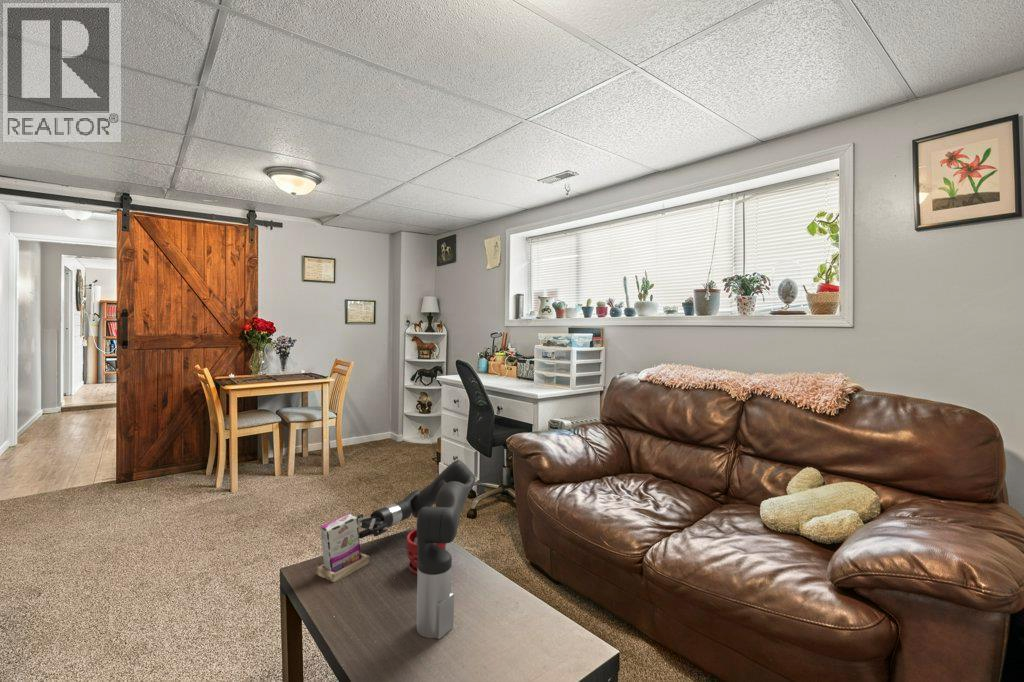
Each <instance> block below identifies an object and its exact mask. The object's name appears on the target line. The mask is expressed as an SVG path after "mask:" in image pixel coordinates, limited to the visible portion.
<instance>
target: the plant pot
mask: <svg viewBox="0 0 1024 682" xmlns="http://www.w3.org/2000/svg"><path fill="white" fill-rule="evenodd" d="M415 539H417V528H415V529H413V530H412V531H410V532H409V533H408V534H407V536H406V551H407V557H408V560H409V563H408V568H409V570H410V571H411V572H412V573H413V574H414V575H417V565H418V560H417V542H415ZM434 544H435V545H437V546H438V547H440V548H443V549H445V550H447V547H446V546H447V543H446V544H442V543H441V544H440V543H434Z"/></svg>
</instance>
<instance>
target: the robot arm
mask: <svg viewBox="0 0 1024 682" xmlns="http://www.w3.org/2000/svg"><path fill="white" fill-rule="evenodd" d="M475 482H476V476H475V474H474V473H473V472H472V471H471V469H469V467H468V466H467V465H466V464H465V463H464V462H463V460H460V459H457V460H454V461H453V462H451V463H450V464H448V466H446V468H444V469H443V470H442V471H441V472H440V473H439V474H438V475H437V476H436V477H435V479H433V481H432V482H431V483H430V484H429V485H427V486H426V487H424V488H423V489H421V490H418V489H415V490H413V491H411V492H410V493H408V494H407V496H405V497H404V498H403V499H402V500H400V501H397V502H395V503H392V504H388V505H386V506H383V507H380V508H378V509H376V510H373V511H372V512H371V514H370V515H369V516H366V517H365V516H364V514H363V513H362V514H359V515H355V516H356V517H357V519H358V530H361V529H362V530H361V531H359V539H364V538H366V537H368V536H374V537H378V536H380V535H382V534H384V533H385V532H388V529H389V528H392V527H393V526H396V525H397V524H398V523H400V522H403V521H406V520H407V519H408V518H410V517H411V515H412V517H413V518H415V519H416V529H417V537H416V543H417V560H418V565H417V574H416V575H417V576H416V579H417V580H416V632H417V633H418V635H420V636H421V637H423V638H427V639H437V640H440V639H442V638H443V637H444V636H445V635H446V634H447V633H448V632H450V631H451V630H452V629H453V628H454V617H455V614H454V613H455V611H454V610H455V606H454V605H455V594H454V593H453V592H452V566H453V565H452V562H453V561H452V560H453V559H452V554H451V553H450V552H449V551H448V550H447V549H443V548H440V547H438V546H437V545H435V544H434V543H440V544H441V543H442V544H446V545H447V544H450V543H452V542H453V541H454V540H455V538H456V536H457V533H458V530H459V525H460V520H461V514H462V512H463V511H464V508H465V506H466V502H467V498H468V495H469V493H470V491H471V490H472V489H473V486H474V485H475ZM434 504H435V506H433V505H434Z"/></svg>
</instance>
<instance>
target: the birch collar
mask: <svg viewBox="0 0 1024 682" xmlns="http://www.w3.org/2000/svg"><path fill="white" fill-rule="evenodd" d="M369 564H370V555H368V554H366V553H362V552H361V559H359V560H358V561H356V562H354V563H352V564H350V565H348V566H346V567H344V568H342V569H341V570H339V571H337V572H335V573H334V572H332V571H330V570H328V569H325V568H324V563H322V564H320V565H318V566H317V567H316V575H317V576H318V577H321V578H323V579H325V578H326V580H327V581H329V580H330V581H329V582H332V583H336V582H338V581H340V580H341V579H344V578H345V577H347V576H349V575H351V574H353V573H355V572H357V571H358V570H360V569H361V568H363V567H365V566H367V565H369Z"/></svg>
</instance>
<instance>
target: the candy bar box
mask: <svg viewBox="0 0 1024 682" xmlns="http://www.w3.org/2000/svg"><path fill="white" fill-rule="evenodd" d="M356 516H357V515H354V514H351V513H347V514H346V515H343V516H342V517H340V518H337V519H335V520H332V521H329V522H328V523H325V524H324V525H322V526H320V527H319V528H320V530H319V531H320V538H321V549H322V550H321V551H322V557H323V558H322V559H323V564H324V568H325V569H328V570H330V571H332V572H334V573H335V572H337V571H339V570H341V569H342V568H344V567H346V566H348V565H350V564H352V563H354V562H356V561H358V560H359V559H361V553H362V552H361V545H360V544H361V543H360V542H361V541H360V538H359V532H360V531H359V530H360V529H358V519H357V517H356Z"/></svg>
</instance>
